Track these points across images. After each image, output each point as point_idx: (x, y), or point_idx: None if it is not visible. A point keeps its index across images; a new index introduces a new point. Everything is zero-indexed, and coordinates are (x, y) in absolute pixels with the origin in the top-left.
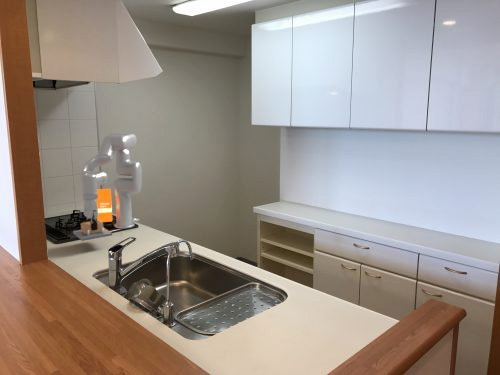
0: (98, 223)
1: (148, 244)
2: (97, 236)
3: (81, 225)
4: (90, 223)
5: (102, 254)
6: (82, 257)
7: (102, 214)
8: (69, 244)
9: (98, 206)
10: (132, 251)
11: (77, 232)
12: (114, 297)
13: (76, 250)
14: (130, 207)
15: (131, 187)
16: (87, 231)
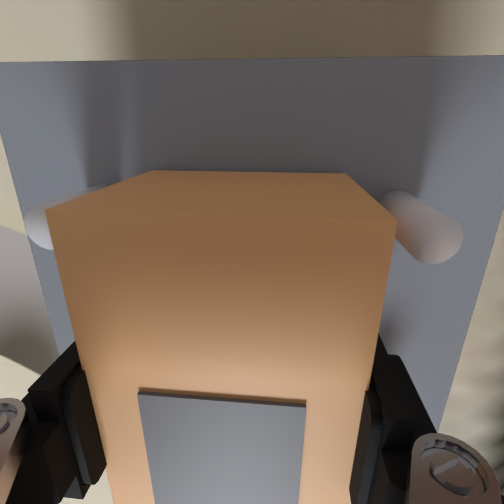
0: (111, 487)
1: (99, 490)
2: (49, 289)
3: (338, 202)
4: (180, 390)
5: (23, 220)
6: (7, 44)
7: None
8: (495, 47)
9: None
10: (12, 388)
11: (386, 106)
12: None
13: (239, 56)
14: None
15: None
16: (39, 206)
